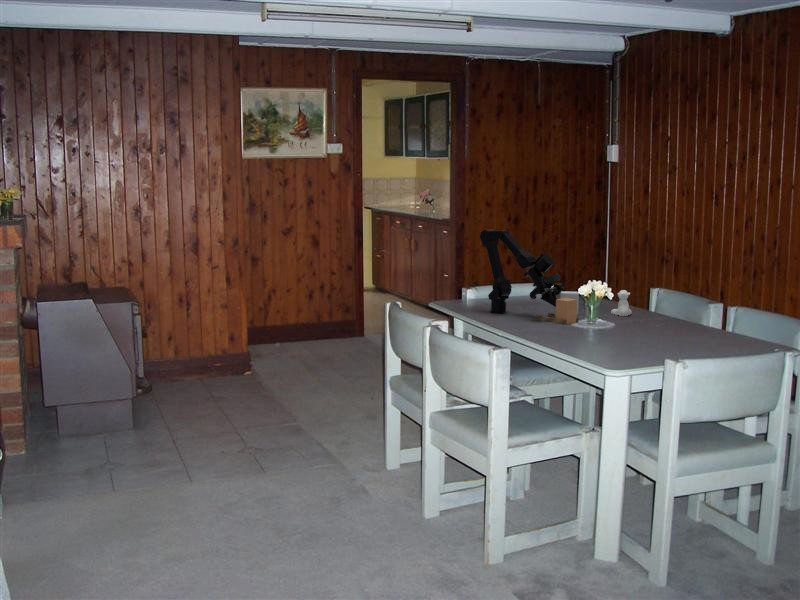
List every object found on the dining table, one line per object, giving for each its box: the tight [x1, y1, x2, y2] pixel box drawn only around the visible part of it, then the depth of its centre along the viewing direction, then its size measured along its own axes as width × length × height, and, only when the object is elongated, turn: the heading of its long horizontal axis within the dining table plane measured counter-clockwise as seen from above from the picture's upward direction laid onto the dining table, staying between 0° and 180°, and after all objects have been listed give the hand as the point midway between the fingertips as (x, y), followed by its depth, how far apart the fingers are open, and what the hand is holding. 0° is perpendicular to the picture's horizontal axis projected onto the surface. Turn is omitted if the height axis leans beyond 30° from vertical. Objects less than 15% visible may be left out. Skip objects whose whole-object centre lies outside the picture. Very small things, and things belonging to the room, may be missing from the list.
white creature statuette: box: [610, 289, 632, 317], centre depth 404 cm, size 10×9×12 cm
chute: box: [535, 312, 580, 326], centre depth 383 cm, size 18×10×3 cm, turn 43°
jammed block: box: [555, 298, 578, 325], centre depth 380 cm, size 6×7×10 cm
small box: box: [559, 290, 580, 315], centre depth 404 cm, size 8×6×10 cm
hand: (557, 306), depth 383 cm, fingers closed
